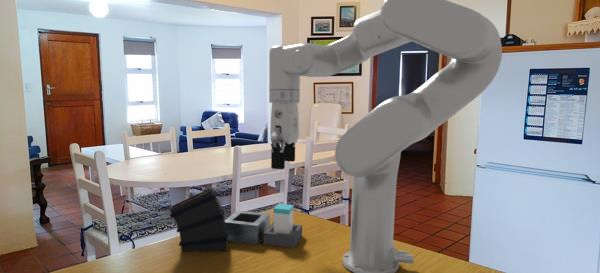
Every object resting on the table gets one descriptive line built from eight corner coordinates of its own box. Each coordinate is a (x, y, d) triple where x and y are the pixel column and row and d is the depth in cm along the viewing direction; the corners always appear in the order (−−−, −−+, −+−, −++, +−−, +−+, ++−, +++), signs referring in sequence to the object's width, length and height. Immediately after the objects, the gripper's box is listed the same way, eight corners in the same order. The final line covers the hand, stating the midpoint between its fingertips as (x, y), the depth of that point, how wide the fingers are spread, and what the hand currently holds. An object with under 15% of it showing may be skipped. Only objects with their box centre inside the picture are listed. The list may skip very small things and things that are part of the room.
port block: (269, 231, 113) (270, 213, 112) (257, 244, 104) (258, 225, 103) (237, 227, 115) (237, 210, 114) (223, 240, 106) (222, 222, 105)
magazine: (239, 245, 99) (211, 190, 97) (189, 268, 99) (160, 214, 97) (240, 238, 103) (213, 186, 101) (192, 261, 103) (164, 209, 101)
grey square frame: (302, 236, 110) (302, 225, 109) (294, 247, 102) (294, 236, 102) (273, 232, 112) (273, 222, 111) (263, 244, 104) (263, 232, 104)
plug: (293, 238, 108) (293, 205, 107) (288, 244, 104) (289, 209, 103) (278, 236, 109) (278, 203, 108) (273, 242, 105) (273, 208, 104)
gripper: (289, 98, 92) (288, 173, 95) (307, 95, 109) (305, 159, 112) (258, 97, 94) (257, 171, 97) (280, 95, 111) (279, 157, 113)
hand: (283, 164), depth 104 cm, fingers open, 9 cm apart
